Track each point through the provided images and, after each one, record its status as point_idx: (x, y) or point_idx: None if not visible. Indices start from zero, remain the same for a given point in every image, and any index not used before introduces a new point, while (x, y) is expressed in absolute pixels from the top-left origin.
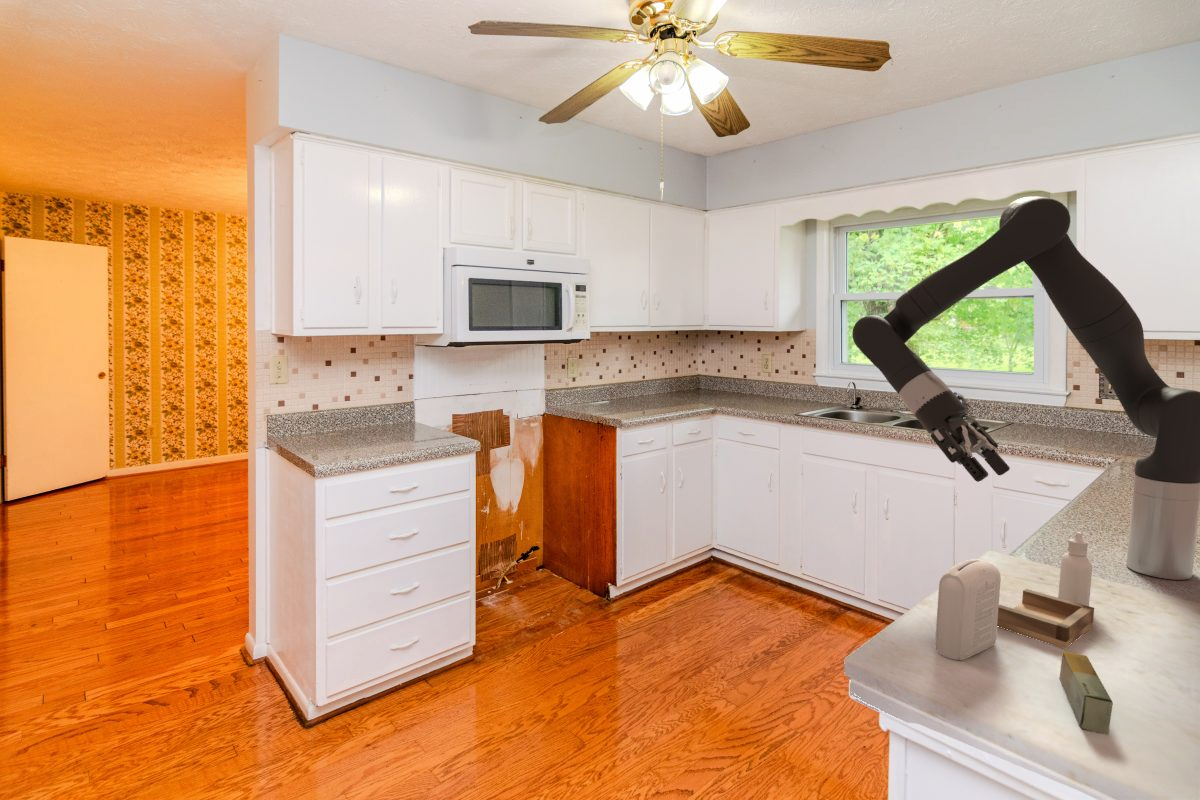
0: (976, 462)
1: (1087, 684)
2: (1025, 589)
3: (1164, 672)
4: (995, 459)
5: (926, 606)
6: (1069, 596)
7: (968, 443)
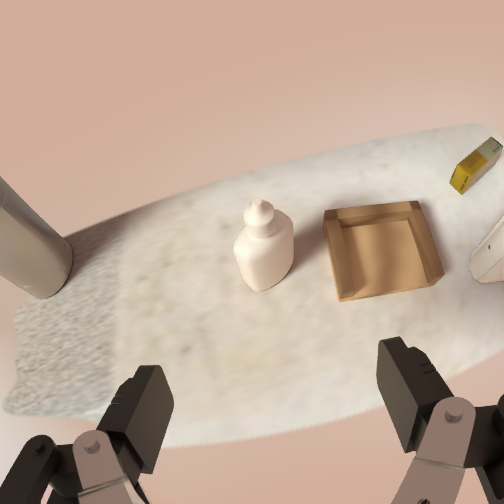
0: (425, 378)
1: (491, 150)
2: (346, 290)
3: (364, 156)
4: (143, 423)
5: (460, 369)
6: (291, 256)
7: (439, 466)
